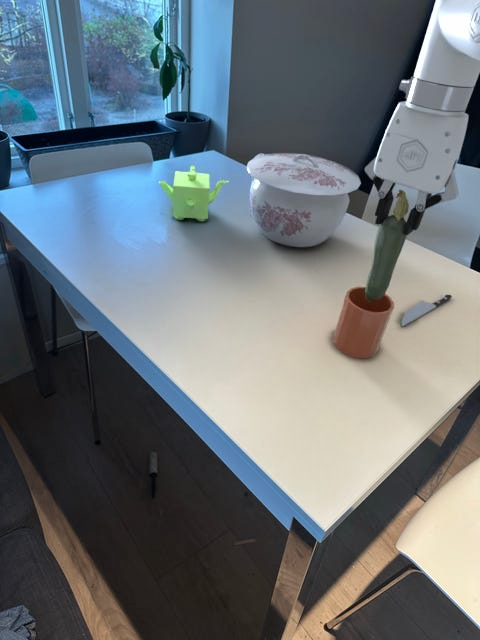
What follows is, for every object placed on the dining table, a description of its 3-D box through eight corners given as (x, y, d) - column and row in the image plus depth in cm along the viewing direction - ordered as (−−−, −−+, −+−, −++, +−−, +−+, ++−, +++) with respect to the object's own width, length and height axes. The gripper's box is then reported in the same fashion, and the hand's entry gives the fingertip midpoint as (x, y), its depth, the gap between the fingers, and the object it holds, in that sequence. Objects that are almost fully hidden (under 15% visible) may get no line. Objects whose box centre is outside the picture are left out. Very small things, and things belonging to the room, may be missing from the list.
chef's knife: (389, 320, 90) (401, 327, 88) (390, 316, 90) (403, 323, 88) (439, 293, 101) (452, 299, 99) (441, 288, 100) (453, 294, 98)
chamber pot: (354, 265, 107) (379, 181, 94) (240, 256, 105) (250, 168, 92) (333, 216, 129) (351, 142, 117) (239, 208, 127) (246, 132, 115)
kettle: (191, 199, 129) (193, 160, 122) (228, 216, 122) (232, 175, 116) (151, 212, 119) (151, 170, 112) (189, 231, 112) (191, 188, 106)
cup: (384, 343, 84) (401, 300, 78) (365, 365, 78) (382, 320, 72) (345, 324, 88) (359, 281, 82) (325, 343, 82) (337, 299, 76)
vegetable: (383, 312, 76) (424, 199, 64) (358, 310, 76) (394, 196, 64) (378, 297, 79) (415, 188, 67) (354, 295, 79) (387, 185, 67)
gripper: (366, 86, 59) (335, 215, 70) (498, 115, 52) (439, 255, 63) (389, 82, 64) (356, 203, 75) (511, 108, 57) (455, 239, 68)
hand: (394, 225), depth 69 cm, fingers closed on vegetable, 3 cm apart
